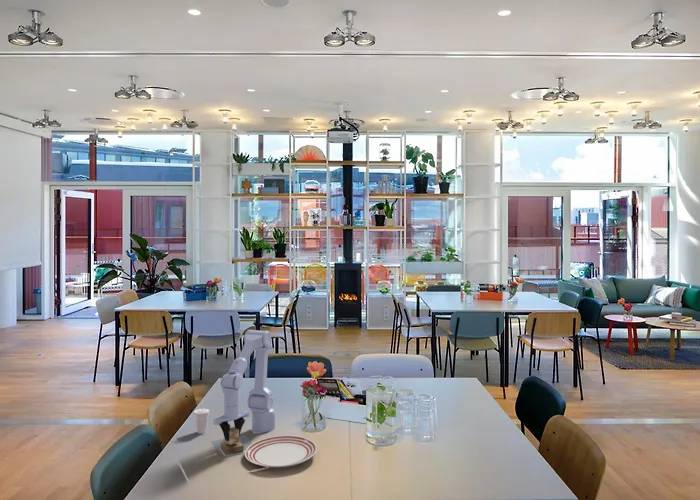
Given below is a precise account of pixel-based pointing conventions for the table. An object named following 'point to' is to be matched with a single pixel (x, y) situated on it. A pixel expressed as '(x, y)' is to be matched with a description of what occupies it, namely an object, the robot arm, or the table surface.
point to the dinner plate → (280, 451)
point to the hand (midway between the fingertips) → (232, 438)
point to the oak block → (233, 436)
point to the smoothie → (201, 419)
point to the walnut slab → (232, 448)
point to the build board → (244, 441)
